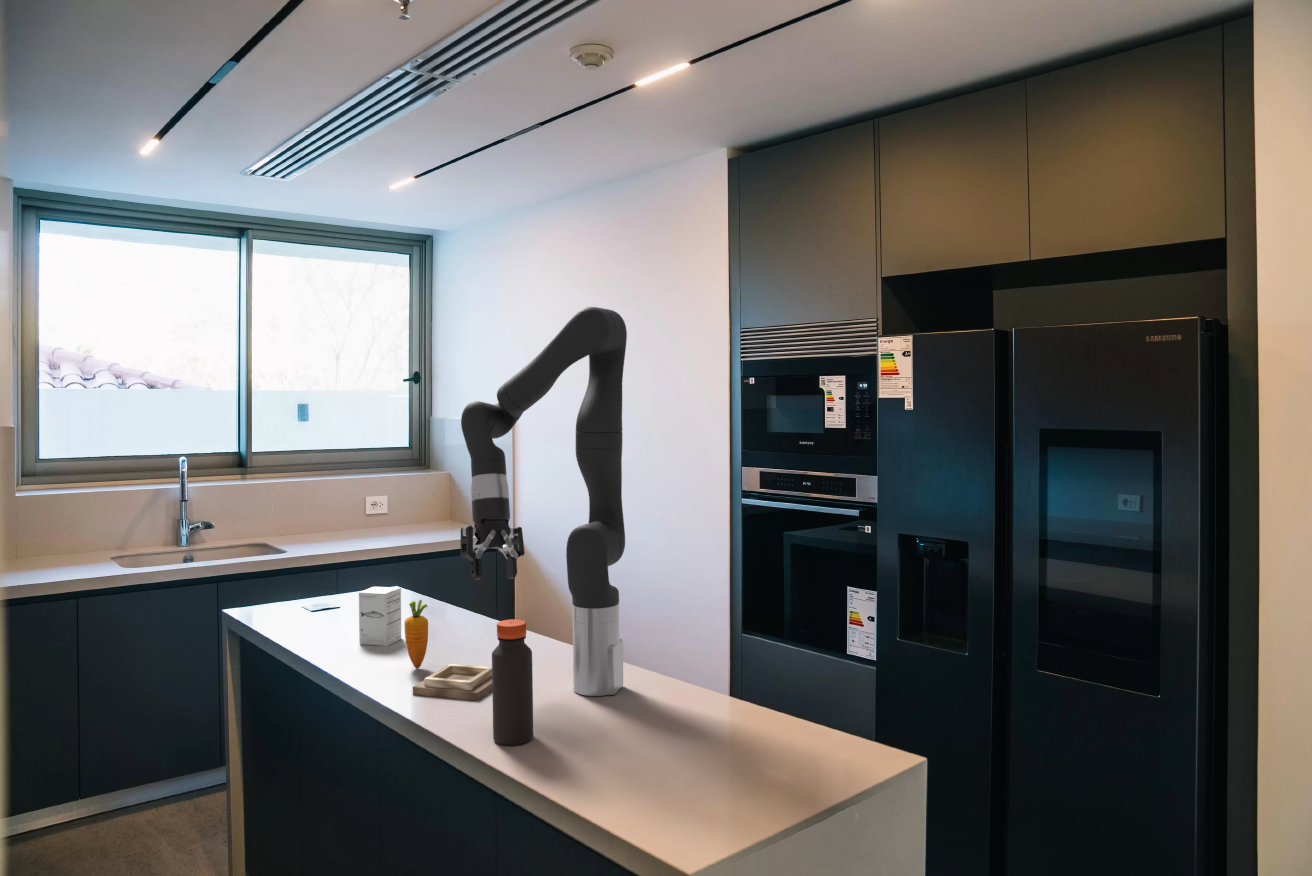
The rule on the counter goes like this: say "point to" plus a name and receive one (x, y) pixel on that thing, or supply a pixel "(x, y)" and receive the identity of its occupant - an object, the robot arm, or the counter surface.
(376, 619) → the supplement box
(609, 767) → the counter surface
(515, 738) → the bottle
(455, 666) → the beige wooden tray
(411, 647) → the carrot
